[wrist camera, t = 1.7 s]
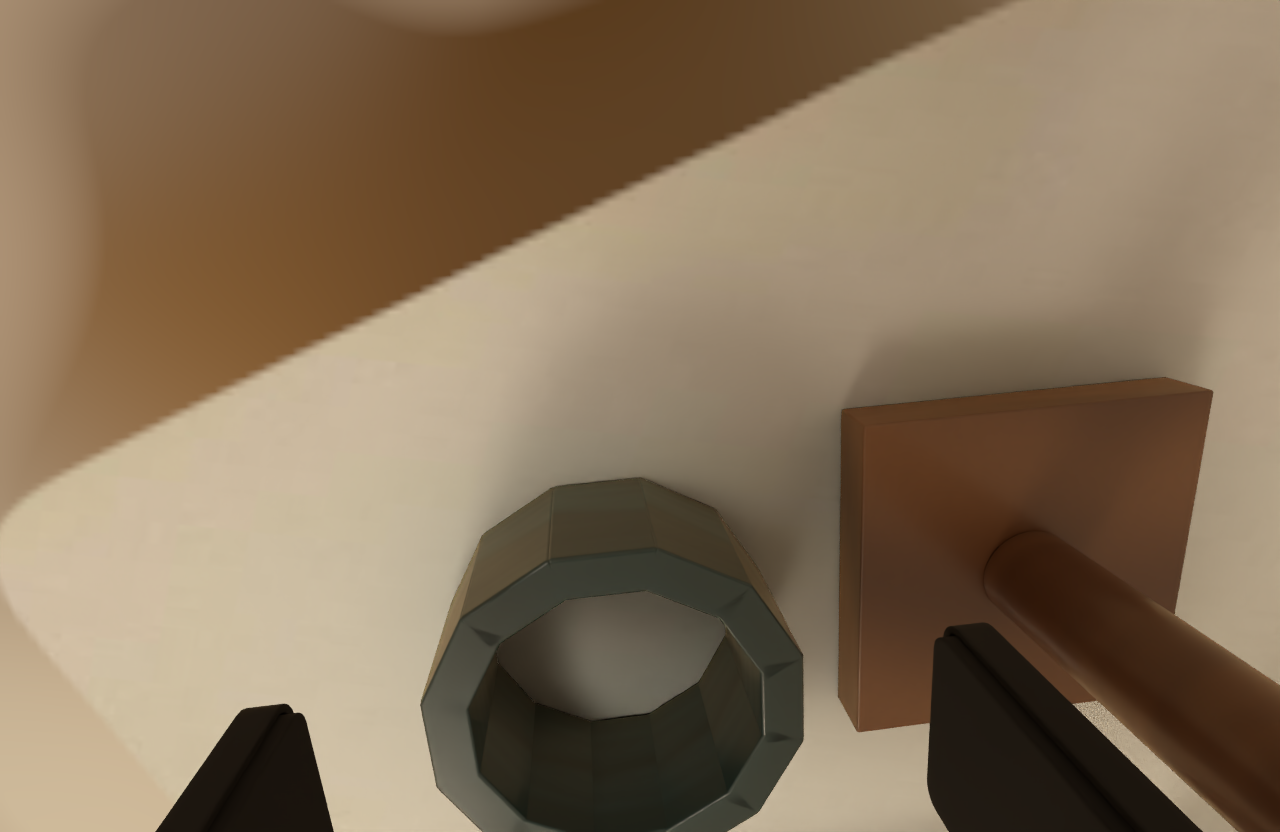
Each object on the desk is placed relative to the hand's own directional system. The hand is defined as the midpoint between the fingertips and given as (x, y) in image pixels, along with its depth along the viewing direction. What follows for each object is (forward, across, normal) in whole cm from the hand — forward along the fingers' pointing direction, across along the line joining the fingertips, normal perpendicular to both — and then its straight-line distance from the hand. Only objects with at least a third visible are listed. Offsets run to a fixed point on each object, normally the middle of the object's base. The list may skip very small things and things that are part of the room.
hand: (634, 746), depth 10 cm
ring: (+8, 0, +3) cm, 9 cm away
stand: (+8, -11, +2) cm, 14 cm away
